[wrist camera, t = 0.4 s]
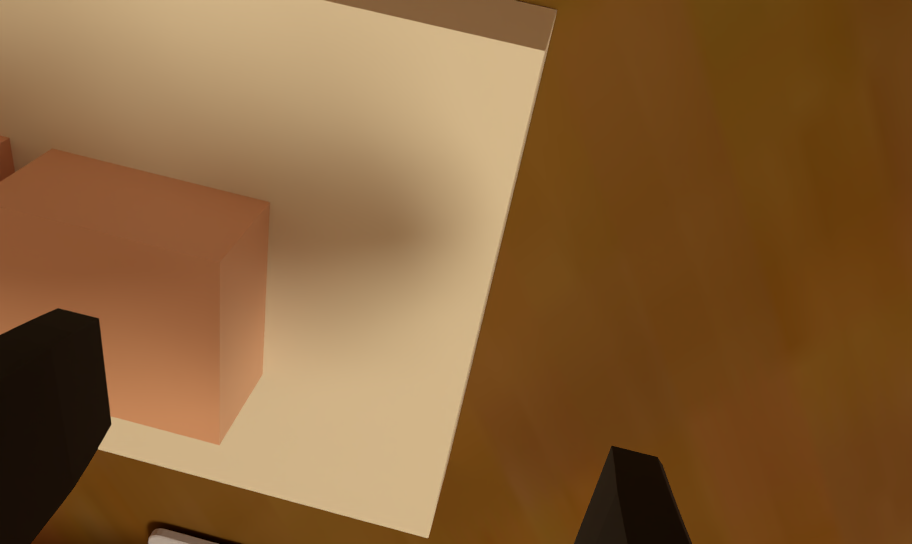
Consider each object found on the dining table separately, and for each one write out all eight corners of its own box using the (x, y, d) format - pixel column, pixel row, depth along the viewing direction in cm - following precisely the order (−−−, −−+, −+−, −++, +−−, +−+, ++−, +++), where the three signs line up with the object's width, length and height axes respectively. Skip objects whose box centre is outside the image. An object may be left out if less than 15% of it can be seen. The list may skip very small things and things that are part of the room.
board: (448, 460, 24) (428, 538, 22) (-88, 318, 25) (-166, 377, 23) (557, 9, 16) (545, 51, 14) (-224, -168, 17) (-365, -159, 15)
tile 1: (262, 374, 20) (219, 445, 17) (75, 325, 20) (11, 389, 18) (269, 202, 17) (219, 261, 15) (51, 148, 17) (-28, 199, 15)
